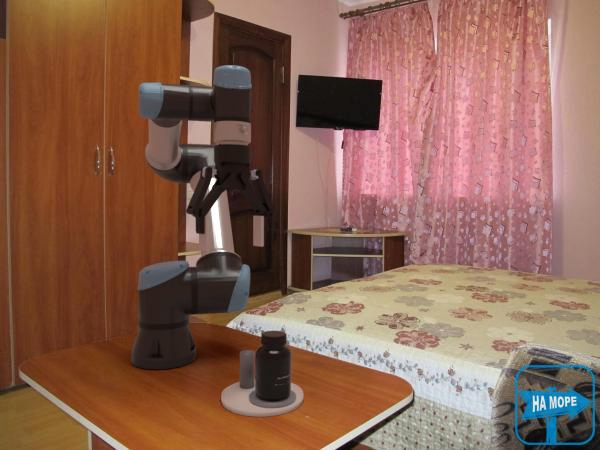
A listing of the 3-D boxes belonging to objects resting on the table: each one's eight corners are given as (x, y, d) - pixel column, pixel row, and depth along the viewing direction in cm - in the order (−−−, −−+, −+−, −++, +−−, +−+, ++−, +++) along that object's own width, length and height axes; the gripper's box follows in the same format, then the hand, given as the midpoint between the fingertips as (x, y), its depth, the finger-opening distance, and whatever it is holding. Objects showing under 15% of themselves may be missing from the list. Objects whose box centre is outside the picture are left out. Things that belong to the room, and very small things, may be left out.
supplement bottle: (286, 404, 91) (286, 339, 90) (250, 400, 92) (250, 337, 91) (294, 390, 97) (294, 329, 97) (261, 387, 99) (261, 327, 98)
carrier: (205, 397, 97) (205, 357, 97) (268, 377, 108) (268, 341, 108) (255, 425, 85) (255, 380, 85) (320, 399, 96) (320, 359, 96)
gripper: (188, 138, 90) (188, 254, 91) (290, 147, 107) (289, 245, 108) (167, 141, 95) (168, 250, 97) (268, 150, 112) (267, 243, 114)
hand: (232, 248), depth 102 cm, fingers open, 13 cm apart
